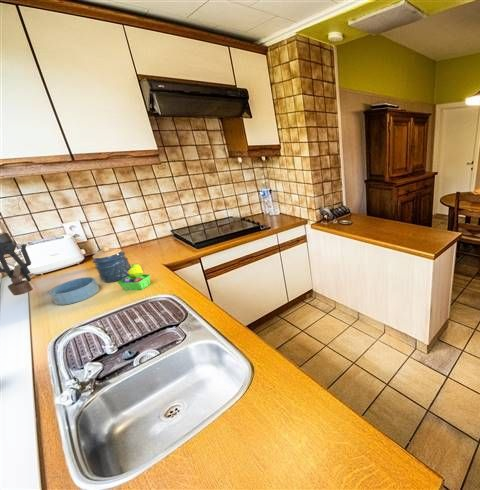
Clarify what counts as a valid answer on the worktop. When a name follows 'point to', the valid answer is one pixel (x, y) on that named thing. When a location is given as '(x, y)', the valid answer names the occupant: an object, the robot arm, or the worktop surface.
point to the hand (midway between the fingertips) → (24, 281)
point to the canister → (111, 264)
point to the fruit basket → (135, 279)
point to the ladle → (19, 282)
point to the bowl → (74, 291)
